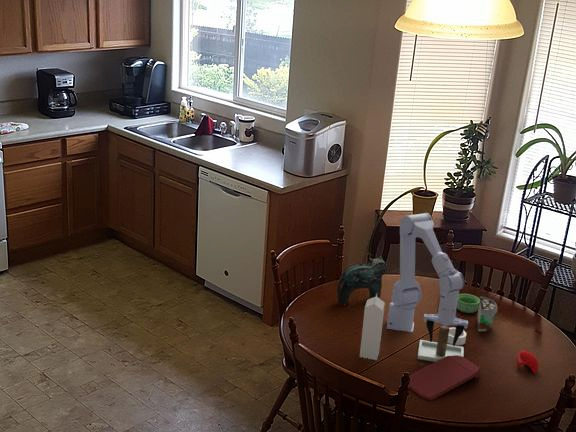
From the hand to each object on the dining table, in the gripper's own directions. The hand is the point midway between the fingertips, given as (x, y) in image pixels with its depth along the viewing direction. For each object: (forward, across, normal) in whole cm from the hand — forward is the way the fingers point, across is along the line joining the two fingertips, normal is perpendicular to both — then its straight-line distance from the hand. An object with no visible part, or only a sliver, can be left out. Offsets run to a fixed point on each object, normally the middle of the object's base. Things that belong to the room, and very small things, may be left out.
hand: (442, 342), depth 240 cm
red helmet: (+5, +28, +2) cm, 29 cm away
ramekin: (+6, +8, +40) cm, 42 cm away
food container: (+5, +16, +26) cm, 31 cm away
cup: (+5, +4, +12) cm, 14 cm away
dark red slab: (+6, +1, -16) cm, 17 cm away
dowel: (+4, 0, 0) cm, 5 cm away
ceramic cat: (+5, -32, +32) cm, 46 cm away
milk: (+5, -24, -8) cm, 25 cm away
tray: (+5, 0, 0) cm, 5 cm away
